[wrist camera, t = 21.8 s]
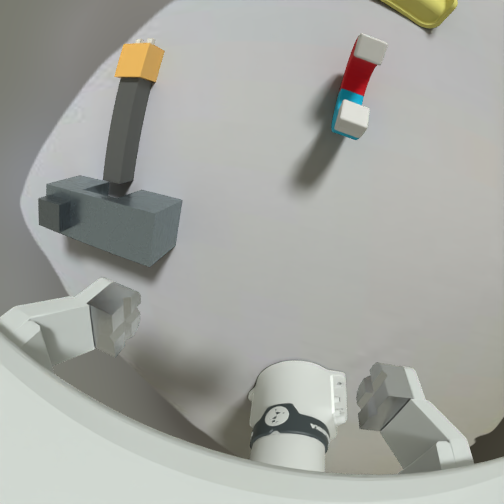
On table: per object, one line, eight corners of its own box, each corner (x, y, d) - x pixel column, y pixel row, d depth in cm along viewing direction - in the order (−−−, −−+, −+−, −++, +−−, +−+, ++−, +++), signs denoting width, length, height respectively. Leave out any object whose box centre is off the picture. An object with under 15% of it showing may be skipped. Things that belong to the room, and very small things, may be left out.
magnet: (347, 141, 32) (364, 139, 23) (326, 134, 32) (336, 129, 23) (369, 61, 27) (390, 35, 18) (348, 54, 27) (363, 24, 18)
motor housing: (175, 245, 41) (140, 275, 31) (78, 214, 42) (36, 232, 33) (182, 200, 38) (144, 219, 29) (80, 175, 40) (35, 187, 30)
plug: (136, 181, 38) (119, 185, 34) (114, 175, 39) (96, 180, 35) (167, 43, 30) (152, 35, 26) (142, 44, 31) (126, 36, 26)
